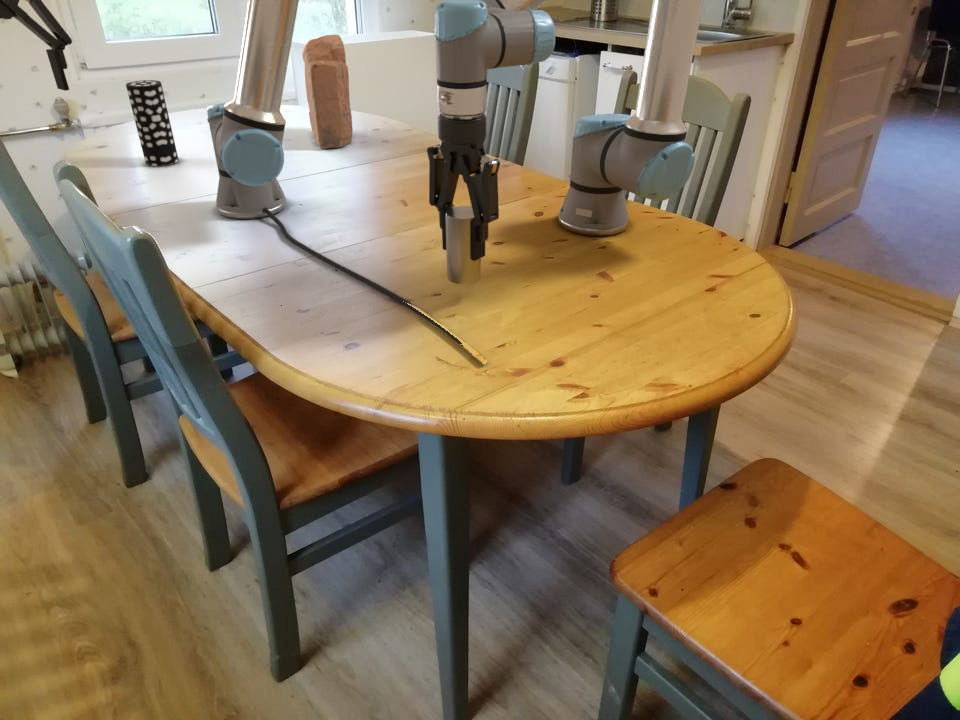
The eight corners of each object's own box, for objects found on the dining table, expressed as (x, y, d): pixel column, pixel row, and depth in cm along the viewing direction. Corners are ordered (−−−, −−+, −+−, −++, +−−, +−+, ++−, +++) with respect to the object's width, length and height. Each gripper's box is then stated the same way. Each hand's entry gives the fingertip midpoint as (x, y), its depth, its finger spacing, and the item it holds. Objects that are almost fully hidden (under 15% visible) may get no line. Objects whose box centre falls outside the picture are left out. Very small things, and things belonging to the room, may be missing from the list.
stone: (358, 147, 199) (349, 40, 185) (319, 150, 196) (306, 42, 182) (347, 131, 217) (337, 33, 202) (310, 134, 214) (298, 34, 199)
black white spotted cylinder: (184, 157, 190) (167, 80, 179) (169, 166, 183) (151, 87, 172) (155, 156, 190) (136, 79, 179) (139, 165, 183) (119, 86, 172)
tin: (444, 271, 123) (442, 207, 116) (477, 268, 124) (477, 204, 117) (449, 285, 118) (448, 220, 111) (483, 283, 119) (484, 217, 112)
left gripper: (-108, -44, 98) (-47, 112, 109) (68, -48, 114) (105, 87, 126) (-127, -46, 101) (-67, 105, 113) (46, -50, 118) (83, 81, 130)
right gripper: (401, 108, 108) (409, 244, 121) (493, 128, 98) (492, 275, 111) (434, 99, 113) (438, 232, 126) (525, 118, 103) (520, 260, 115)
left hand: (24, 95), depth 119 cm, fingers open, 13 cm apart
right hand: (463, 252), depth 118 cm, fingers closed on tin, 6 cm apart
